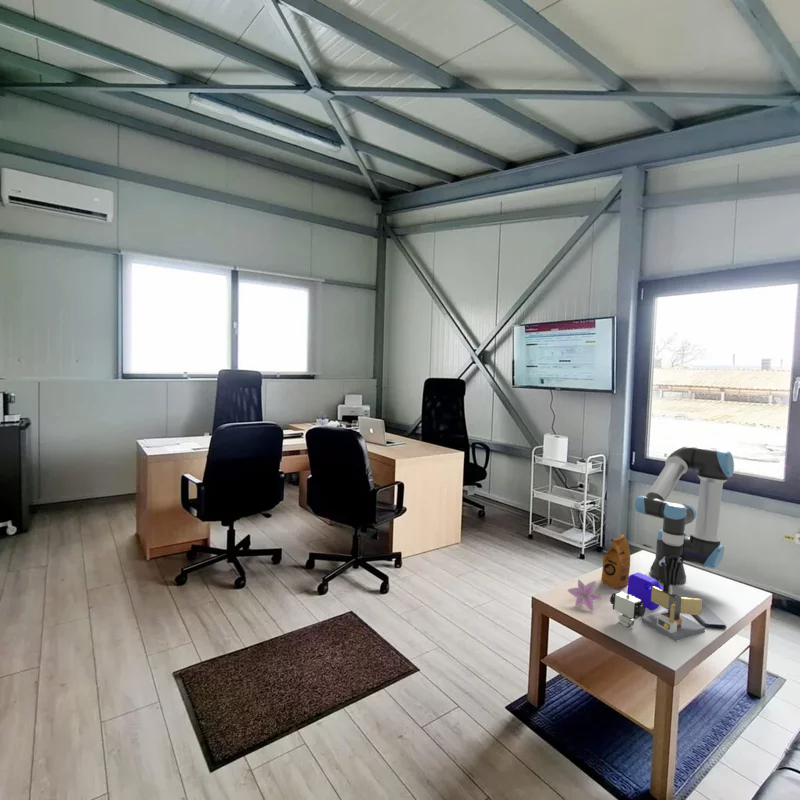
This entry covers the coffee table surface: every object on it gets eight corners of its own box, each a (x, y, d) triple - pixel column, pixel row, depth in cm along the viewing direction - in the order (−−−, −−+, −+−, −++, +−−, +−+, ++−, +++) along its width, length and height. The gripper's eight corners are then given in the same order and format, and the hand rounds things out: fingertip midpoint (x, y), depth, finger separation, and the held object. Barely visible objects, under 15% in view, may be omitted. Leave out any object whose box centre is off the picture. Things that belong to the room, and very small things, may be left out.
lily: (563, 601, 202) (564, 587, 197) (580, 585, 207) (582, 571, 202) (587, 621, 193) (589, 607, 188) (605, 604, 199) (608, 590, 193)
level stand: (670, 614, 193) (671, 601, 192) (704, 632, 180) (706, 618, 180) (640, 622, 186) (641, 608, 185) (673, 642, 173) (674, 627, 172)
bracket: (651, 611, 195) (654, 583, 194) (626, 599, 204) (629, 573, 203) (674, 600, 205) (677, 574, 204) (649, 590, 214) (652, 564, 213)
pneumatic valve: (637, 633, 178) (640, 602, 177) (608, 618, 187) (610, 589, 186) (645, 628, 181) (647, 598, 180) (615, 614, 190) (618, 586, 189)
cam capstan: (665, 605, 195) (667, 582, 194) (700, 624, 182) (703, 599, 181) (636, 613, 188) (638, 589, 187) (671, 633, 175) (673, 607, 174)
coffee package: (597, 582, 219) (600, 536, 218) (611, 575, 227) (615, 531, 225) (617, 590, 211) (621, 543, 210) (632, 584, 219) (635, 537, 217)
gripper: (674, 537, 195) (669, 592, 196) (652, 541, 189) (647, 598, 191) (692, 544, 188) (686, 601, 190) (670, 548, 182) (664, 607, 184)
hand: (667, 599), depth 190 cm, fingers closed
